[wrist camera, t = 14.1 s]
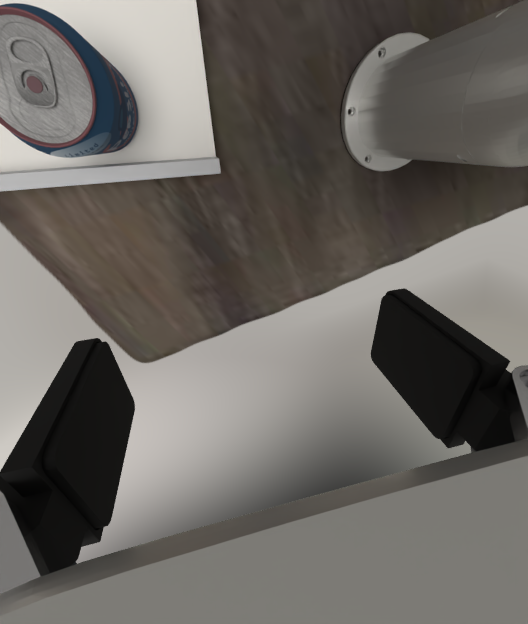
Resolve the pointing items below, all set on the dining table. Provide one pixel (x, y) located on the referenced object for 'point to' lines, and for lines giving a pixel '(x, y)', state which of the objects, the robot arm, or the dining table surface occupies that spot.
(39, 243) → the dining table surface
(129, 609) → the robot arm
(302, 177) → the dining table surface
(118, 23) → the shelf
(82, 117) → the soda can
